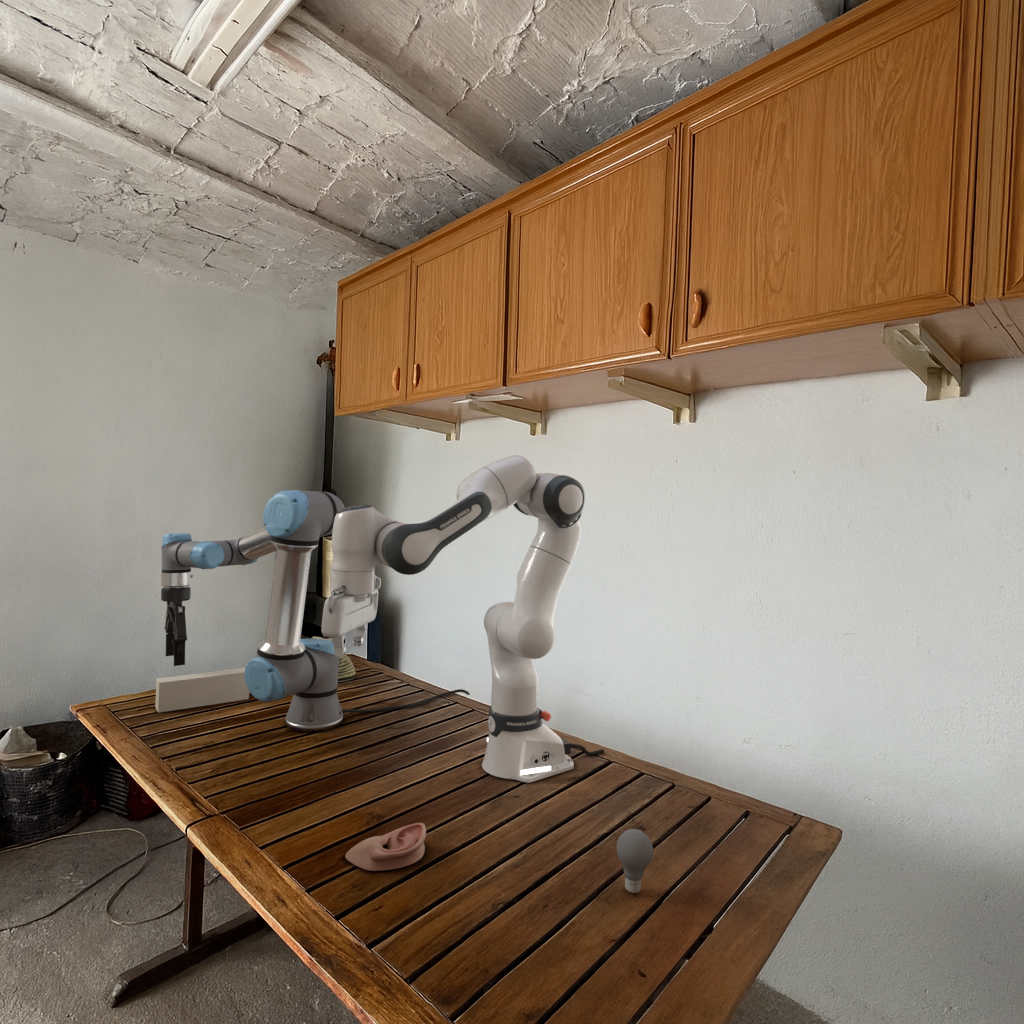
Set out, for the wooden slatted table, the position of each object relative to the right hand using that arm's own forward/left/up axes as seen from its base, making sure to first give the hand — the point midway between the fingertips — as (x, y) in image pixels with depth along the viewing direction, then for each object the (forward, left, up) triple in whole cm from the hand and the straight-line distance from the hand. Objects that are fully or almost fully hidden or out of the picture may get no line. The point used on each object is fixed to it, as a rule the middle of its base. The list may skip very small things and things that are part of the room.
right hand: (349, 650), depth 130 cm
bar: (+24, -77, -32) cm, 87 cm away
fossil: (-14, -89, -32) cm, 95 cm away
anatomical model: (-3, +21, -32) cm, 39 cm away
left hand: (+32, -75, -18) cm, 84 cm away
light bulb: (-37, +48, -32) cm, 69 cm away
